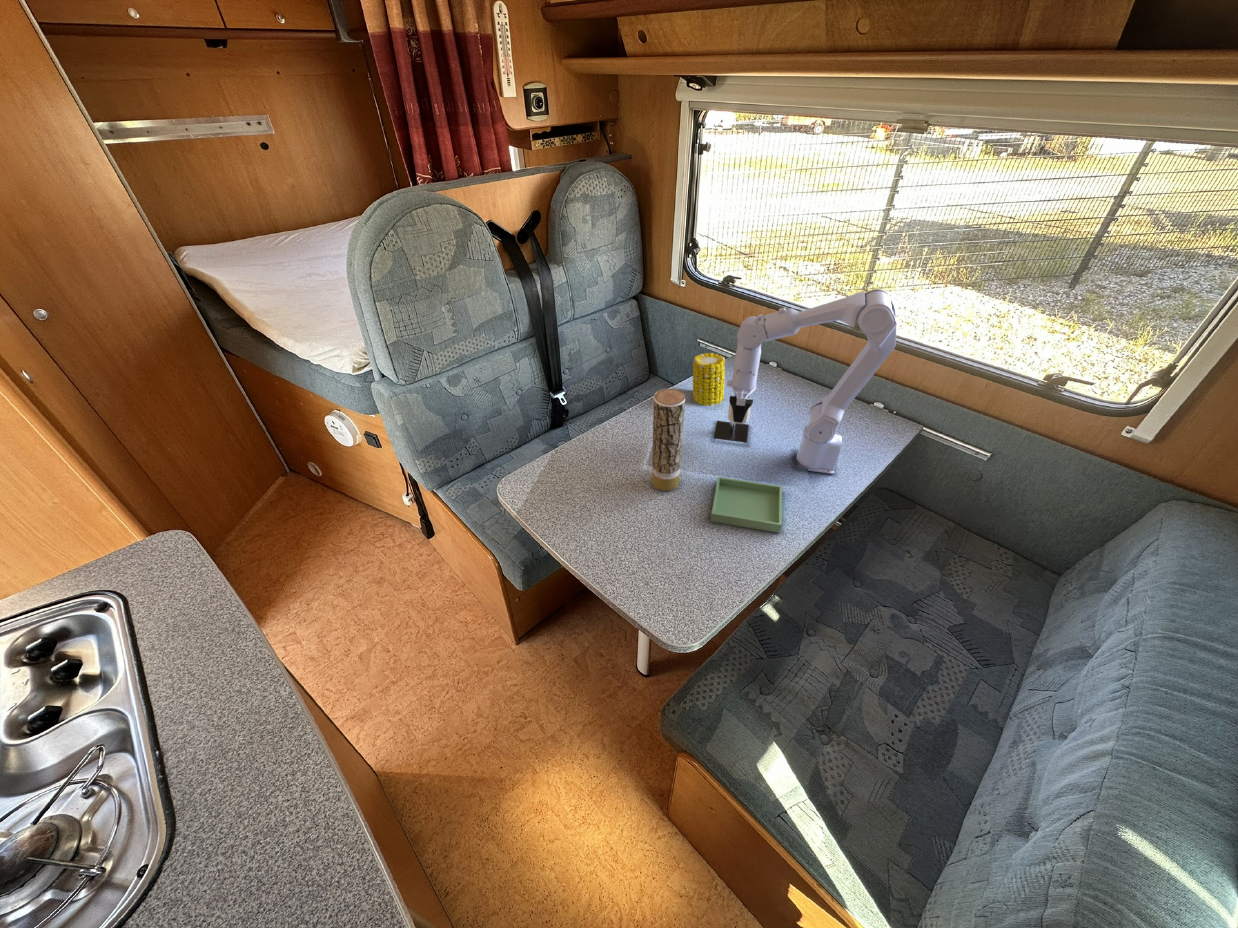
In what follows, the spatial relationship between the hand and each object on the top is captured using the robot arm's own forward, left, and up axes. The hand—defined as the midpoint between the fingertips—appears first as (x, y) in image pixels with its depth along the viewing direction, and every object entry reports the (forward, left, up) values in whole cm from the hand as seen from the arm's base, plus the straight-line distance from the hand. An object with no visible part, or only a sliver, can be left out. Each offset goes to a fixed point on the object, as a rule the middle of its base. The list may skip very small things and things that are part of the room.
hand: (738, 415), depth 127 cm
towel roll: (0, 0, -1) cm, 1 cm away
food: (+10, -23, -11) cm, 27 cm away
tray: (-5, +23, -10) cm, 26 cm away
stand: (+1, -6, -10) cm, 12 cm away
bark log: (+15, +19, -11) cm, 27 cm away
